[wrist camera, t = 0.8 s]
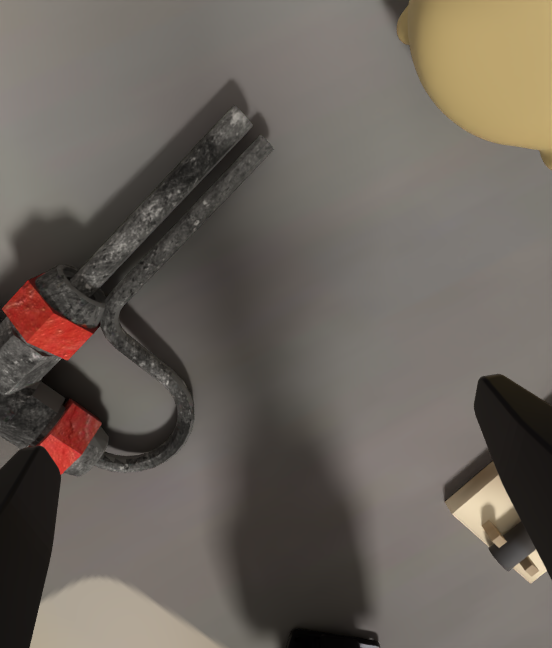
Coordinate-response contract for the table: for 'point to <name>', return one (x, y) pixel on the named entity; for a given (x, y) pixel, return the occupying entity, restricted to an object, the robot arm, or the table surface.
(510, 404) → the robot arm
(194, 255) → the table surface
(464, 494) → the comb board
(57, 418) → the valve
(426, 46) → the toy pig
